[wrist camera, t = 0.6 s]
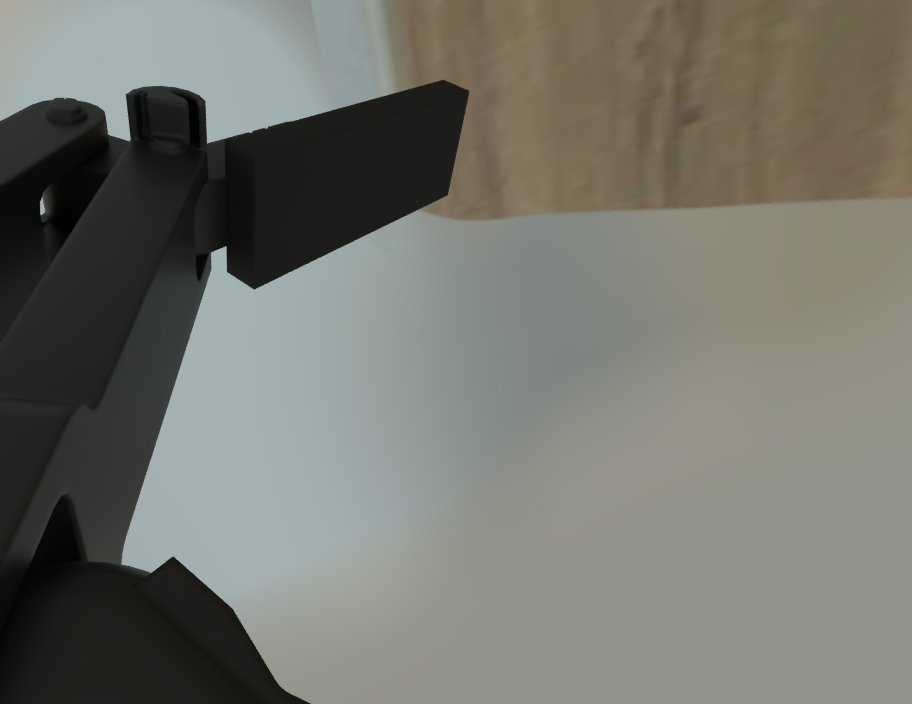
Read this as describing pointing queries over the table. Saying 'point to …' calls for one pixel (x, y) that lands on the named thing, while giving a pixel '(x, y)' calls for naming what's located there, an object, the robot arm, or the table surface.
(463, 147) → the table surface
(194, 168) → the robot arm
